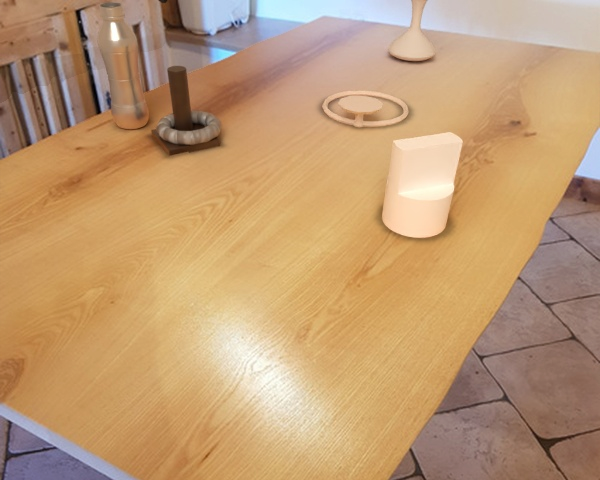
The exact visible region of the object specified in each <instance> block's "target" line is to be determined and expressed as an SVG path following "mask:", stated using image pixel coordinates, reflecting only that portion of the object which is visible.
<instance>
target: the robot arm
mask: <svg viewBox="0 0 600 480" xmlns="http://www.w3.org/2000/svg"><path fill="white" fill-rule="evenodd" d="M158 1H159V2H160V3H162V4H166V3H167V2H168V0H158Z"/></svg>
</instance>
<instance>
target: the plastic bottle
mask: <svg viewBox="0 0 600 480" xmlns="http://www.w3.org/2000/svg"><path fill="white" fill-rule="evenodd" d="M98 9H99V13H100V14H99V16H100V19H101V20H102V24H101V26H100V28H99V31H98V32H97V46H98V48H99V52H100V54H101V58H102V61H103V64H104V67H105V71H106V75H107V79H108V80H107V81H108V84H109V93H110V100H111V101H110V113H111V116H112V120H113V122H114V123H115V124H116V125H117V126H118V127H119V128H121V129H125V130H137V129H140V128H142V127H145V126H146V125H147V124H148V122H149V120H150V110H149V107H148V103H147V100H146V99H145V94H144V92H143V87H142V83H141V77H140V68H139V48H138V46H139V45H138V39H137V35H136V34H135V32H134V31H133V30H132V28H131V27H130V25H129V24H127V22H126V21H125V18H126V14H125V12H124V7H123V4H122V3H120V2H114V1H113V2H112V1H111V2H109V1H108V2H102V3H100V4H99V5H98Z"/></svg>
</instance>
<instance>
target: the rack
mask: <svg viewBox="0 0 600 480" xmlns="http://www.w3.org/2000/svg"><path fill="white" fill-rule="evenodd" d="M187 71H188V70H187V67H186V66H183V65H172V66H169V67H167V68H166V72H167V79H168V87H169V94H170V101H171V108H172V113H173V117H174V124H175V127H173V128H171V129H175V130H178V131H193V130H199V129H203V128H205V127H207V126H205V125H202V124H192V115H191V111H192V108H191V99H190V89H189V80H188V72H187ZM150 132H151V137H152V138H153V139H154V141H155V143H157V144H158V146H159V147H161V148H162V151H164V152H165V153H166V155H167V156H168V157H170V156H176V155H179V154H184V153H185V154H186V153H193V152H194V153H195V152H198V151H203V150H207V149H212V148H216V147H220V146H221V142H220V138H219V137H218V136H217V137H215V138H213V139H212V140H210V141H208V142H204V143H199V144H194V145H180V144H174V143H171V142H168V141H165V140H163V139H162V137H161V136H160V135H159V134H158V133H157V130H156V128H155V129H151V130H150Z"/></svg>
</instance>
